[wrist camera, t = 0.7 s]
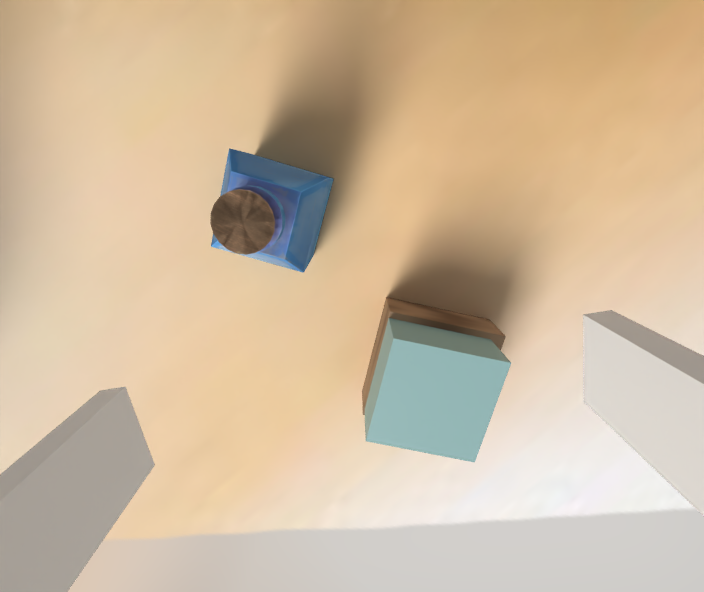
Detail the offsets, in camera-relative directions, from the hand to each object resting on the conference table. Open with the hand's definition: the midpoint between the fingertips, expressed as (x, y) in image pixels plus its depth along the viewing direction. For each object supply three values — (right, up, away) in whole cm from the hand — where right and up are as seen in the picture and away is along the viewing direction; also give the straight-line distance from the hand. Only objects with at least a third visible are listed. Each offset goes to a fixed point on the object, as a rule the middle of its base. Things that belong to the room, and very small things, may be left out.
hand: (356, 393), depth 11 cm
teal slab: (+6, -3, +19) cm, 20 cm away
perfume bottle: (-5, +10, +20) cm, 23 cm away
